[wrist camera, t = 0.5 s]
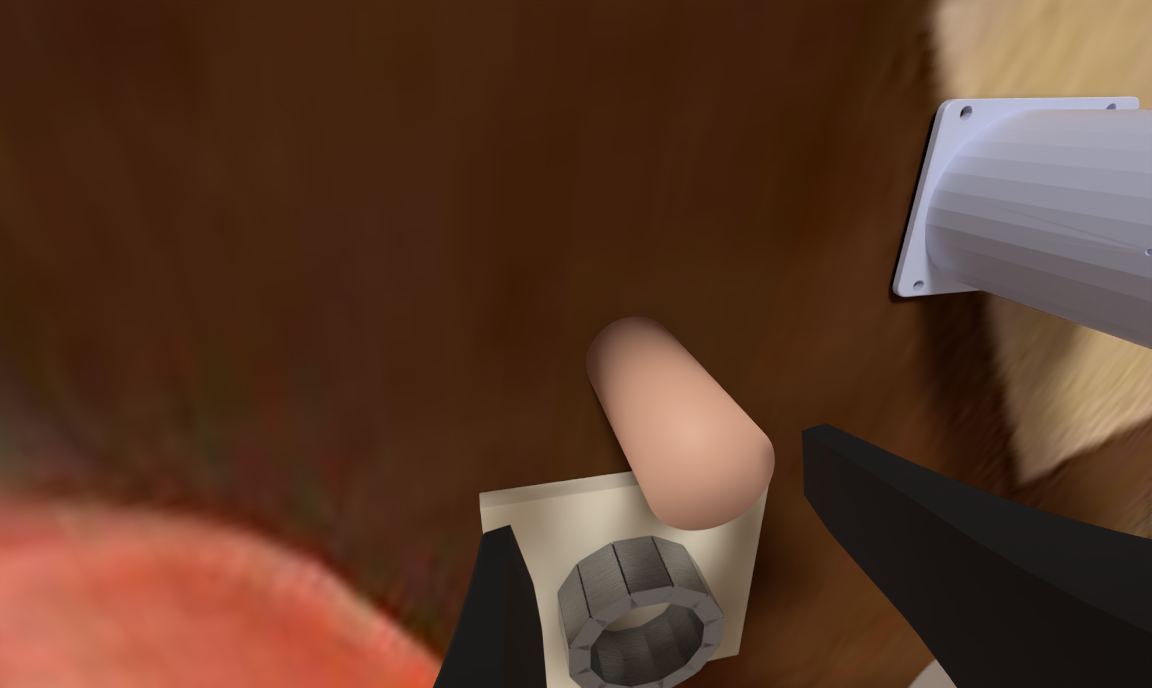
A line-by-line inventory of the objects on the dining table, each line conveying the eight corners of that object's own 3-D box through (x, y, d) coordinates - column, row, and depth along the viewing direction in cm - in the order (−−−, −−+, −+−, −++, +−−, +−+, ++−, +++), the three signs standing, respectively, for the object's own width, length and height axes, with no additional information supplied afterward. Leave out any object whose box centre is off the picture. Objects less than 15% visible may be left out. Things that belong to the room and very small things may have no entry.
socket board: (761, 452, 26) (809, 507, 22) (730, 639, 32) (764, 706, 28) (479, 493, 23) (482, 562, 20) (502, 686, 29) (507, 767, 26)
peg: (678, 312, 22) (784, 411, 15) (672, 394, 23) (764, 519, 16) (585, 320, 21) (649, 429, 14) (586, 404, 23) (643, 540, 16)
